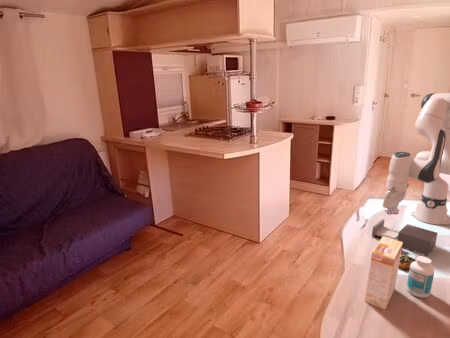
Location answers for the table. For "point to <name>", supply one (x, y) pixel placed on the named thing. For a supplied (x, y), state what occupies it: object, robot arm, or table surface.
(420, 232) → the block
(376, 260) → the coffeecake box
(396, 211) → the disc
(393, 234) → the tray
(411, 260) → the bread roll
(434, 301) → the table surface
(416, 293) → the pill bottle
